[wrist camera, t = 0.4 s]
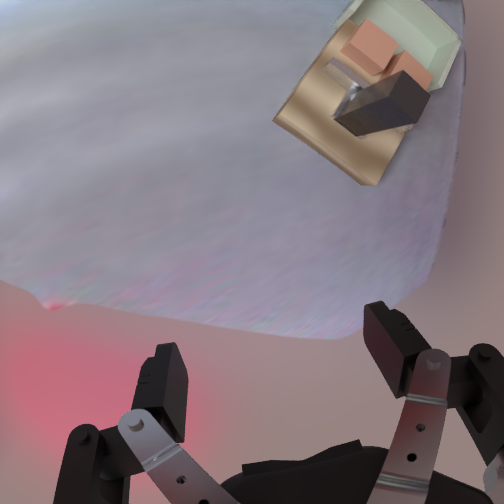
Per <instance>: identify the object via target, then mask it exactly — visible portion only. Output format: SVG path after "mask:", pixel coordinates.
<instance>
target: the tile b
mask: <svg viewBox="0 0 504 504" xmlns="http://www.w3.org/2000/svg"><path fill="white" fill-rule="evenodd" d="M401 70H404V71H405V72H406V73H408V74H409V75H410V76H411V77H412V78H413V79H414V80H415V81H416V82H417V83H418V84H419V85H420V86H421V87H422V88H423V89H424V90H425V91H427V88H428V86H429V84H430V82H431V80H432V78H433V76H432V75H431V74H430V73H429V72H428V71H427V70H426V69H425V68H424V67H423V66H422V65H421V64H420V63H419V62H418V61H417V60H416V59H415V58H414V57H412V56H411V55H410V54H409V53H408V52H407V51H406V50H403V51H402V52H400V53H398V54H396V55H395V56H393V57H392V58H391V60H390V62H389V64H388V65H387V67H386V69H385V70H384V72H383V74H382V75H381V77H380V79H379V80H378V82H379V81H381V80H383V79H385V78H387V77H389V76H391V75H393V74H395V73H397V72H399V71H401Z"/></svg>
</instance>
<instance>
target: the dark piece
mask: <svg viewBox="0 0 504 504" xmlns="http://www.w3.org/2000/svg"><path fill="white" fill-rule="evenodd" d="M321 72H322V73H324V74H325V75H326V76H328V77H329V78H331V79H332V80H333V81H335V82H336V83H337V84H339V85H340V86H341V87H343V88H344V89H345V90H346V92H345V94H344V95H343V97H342V98H341V100H340V101H339V103H338V104H337V106H336V108H335V109H334V111H333V112H332V114H331V115H330V117H331V118H332V119H333V120H335V121H336V122H337V123H339V124H340V125H341V126H343V127H344V128H345V129H346V130H348V131H349V132H350V133H352V134H353V135H354V136H355V137H357V138H358V139H359V140H360V139H363V138H364V136H365V135H366V134H370V133H374V132H379V131H383V130H387V129H392V128H393V129H394V130H395V131H396V132H397V133H398V132H403V131H408V130H411V129H412V127H413V125H414V123H417V122H418V120H419V118H420V116H421V114H422V112H423V110H424V108H425V106H426V104H427V102H428V100H429V98H430V95H429V94H428V93H427V92H426V91H425V90H424V89H423V88H422V87H421V86H420V85H419V84H418V83H417V82H416V81H415V80H414V79H413V78H412V77H411V76H410V75H409V74H408V73H406V72H405V71H404V70H401V71H399V72H397V73H395V74H393V75H391V76H389V77H387V78H385V79H383V80H381V81H379V82H377V83H375V84H373V85H370V84H368V83H367V82H366V81H365V80H363V79H362V78H361V77H360V76H358V75H357V74H356V73H355V72H353V71H352V70H351V69H349V68H348V67H347V66H345V65H344V64H343V63H341V62H340V61H339V60H337V59H336V58H335V57H333V58H332V59H331V60H330V61H329V62H327V63H326V64H325V65H324V66H323V68H322V69H321Z"/></svg>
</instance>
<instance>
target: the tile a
mask: <svg viewBox="0 0 504 504" xmlns="http://www.w3.org/2000/svg"><path fill="white" fill-rule="evenodd" d="M398 45H399V44H398V43H397V42H396V41H395V40H394V39H392V38H391V37H390V36H389V35H388V34H386V33H385V32H384V31H383V30H381V29H380V28H379V27H378V26H376V25H375V24H374V23H373V22H371V21H370V20H369V19H367V18H366V19H365V20H364V21H363V22H362V23H361V24H360V25H358V26H357V27H356V29H355V30H354V31H353V33H352V34H351V36H350V37H349V38H348V40H347V41H346V43H345V44H344V45H343V47H342V48H341V50H340V52H341V53H342V54H344V55H345V56H346V57H348V58H349V59H350V60H352V61H353V62H354V63H356V64H357V65H358V66H360V67H361V68H362V69H363V70H365V71H366V72H367V73H368V74H370V75H371V76H374V75H375V74H377V73H379V72H381V71H383V70H384V69H385V67H386V66H387V64H388V62H389V61H390V59H391V57H392V56H393V54H394V52H395V50H396V49H397V47H398Z"/></svg>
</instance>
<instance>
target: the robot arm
mask: <svg viewBox="0 0 504 504" xmlns="http://www.w3.org/2000/svg"><path fill="white" fill-rule="evenodd" d="M363 336H364V341H365V344H366V347H367V348H368V350H369V352H370V354H371V355H372V357H373V359H374V360H375V362H376V364H377V366H378V367H379V369H380V371H381V373H382V375H383V376H384V378H385V380H386V381H387V383H388V385H389V387H390V389H391V391H392V392H393V394H394V396H395V398H396V399H397V398H400V397H403V396H405V397H406V400H405V404H404V408H403V410H402V414H401V417H400V420H399V423H398V426H397V429H396V432H395V435H394V438H393V441H392V444H391V447H390V449H385V448H381V447H375V446H362V445H361V443H360V440H359V439H358V440H355V441H352V442H348V443H344V444H341V445H337V446H334V447H331V448H328V449H326V450H324V451H322V452H320V453H318V454H316V455H314V456H312V457H310V458H308V459H305V460H300V461H288V460H286V461H285V460H283V461H282V460H269V461H263V462H257V463H250V464H243V465H242V471H243V472H242V473H239V474H237V475H234V476H233V477H231V478H229V479H227V480H226V481H224V482H223V483H222V484H220V485H219V484H218V483H217V482H216V481H215V480H214V479H213V478H212V477H211V476H209V474H208V473H207V472H206V471H205V470H204V469H203V468H202V467H201V466H200V465H199V464H198V463H197V462H196V461H195V460H194V459H193V458H192V457H191V456H190V455H189V454H188V453H187V452H186V451H185V450H184V449H183V448H182V447H181V446H180V445H179V444H176V443H183V442H184V437H185V420H186V406H187V393H188V374H187V370H186V367H185V364H184V362H183V359H182V357H181V354H180V352H179V349H178V347H177V345H176V343H175V342H173V343H165V344H159V345H157V347H156V352H155V356H154V357H149V358H147V360H146V361H145V362H144V364H143V365H142V367H141V370H140V374H139V378H138V385H137V386H136V391H135V395H134V399H133V403H132V408H131V411H129V412H127V413H125V414H124V415H123V416H122V417H121V419H120V420H119V423H118V425H117V426H114V427H111V428H107V429H104V430H100V431H99V430H98V429H97V428H96V427H95V426H94V425H91V424H82V425H80V426H78V427H76V428H75V429H73V430H72V432H71V433H70V435H69V437H68V441H67V445H66V449H65V453H64V456H63V461H62V465H61V469H60V473H59V477H58V482H57V487H56V491H55V497H54V501H53V504H129V503H128V502H129V489H130V476H131V475H134V474H138V473H141V472H145V471H146V473H147V474H148V475H149V477H150V478H151V479H152V481H153V482H154V483H155V484H156V486H157V487H158V488H159V489H160V491H161V492H162V493H163V494H164V495H165V497H166V498H167V499H168V500H169V502H170V503H171V504H504V357H503V356H502V355H501V353H500V352H499V351H498V350H497V349H496V348H495V347H494V346H492V345H490V344H485V343H481V344H477V345H474V346H473V347H472V348H471V349H470V352H469V355H467V356H458V357H450V356H449V355H448V354H447V353H446V352H444V351H442V350H440V349H432V348H431V346H430V345H429V344H428V343H427V341H426V340H425V339H424V338H423V336H422V335H421V334H420V333H419V331H418V330H417V329H415V327H414V325H413V324H412V323H410V320H408V318H407V317H406V315H404V314H403V313H401V312H400V311H398V310H396V309H393V310H389V308H388V307H387V306H386V305H385V303H384V302H383V301H378V302H374V303H370V304H366V305H365V306H364V327H363ZM449 408H456V410H457V412H458V413H459V415H460V417H461V419H462V420H463V422H464V424H465V426H466V428H467V429H468V431H469V433H470V435H471V437H472V439H473V440H474V442H475V444H476V446H477V448H478V450H479V452H480V454H481V456H482V457H483V460H484V461H485V464H486V465H487V468H486V469H485V472H484V475H483V482H484V485H485V486H484V487H485V492H483V491H482V490H480V489H477V488H474V487H472V486H470V485H467V484H465V483H462V482H460V481H457V480H455V479H453V478H450V477H448V476H446V475H443V474H441V473H439V472H436V471H434V470H433V468H434V465H435V461H436V457H437V453H438V449H439V445H440V440H441V436H442V431H443V427H444V421H445V416H446V411H447V409H449Z"/></svg>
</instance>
